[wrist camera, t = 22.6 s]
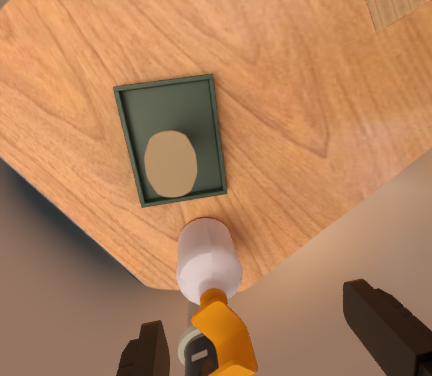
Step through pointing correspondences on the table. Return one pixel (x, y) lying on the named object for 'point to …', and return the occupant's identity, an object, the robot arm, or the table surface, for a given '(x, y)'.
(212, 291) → the soap bottle
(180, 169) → the handle
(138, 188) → the brush tray
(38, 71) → the table surface
